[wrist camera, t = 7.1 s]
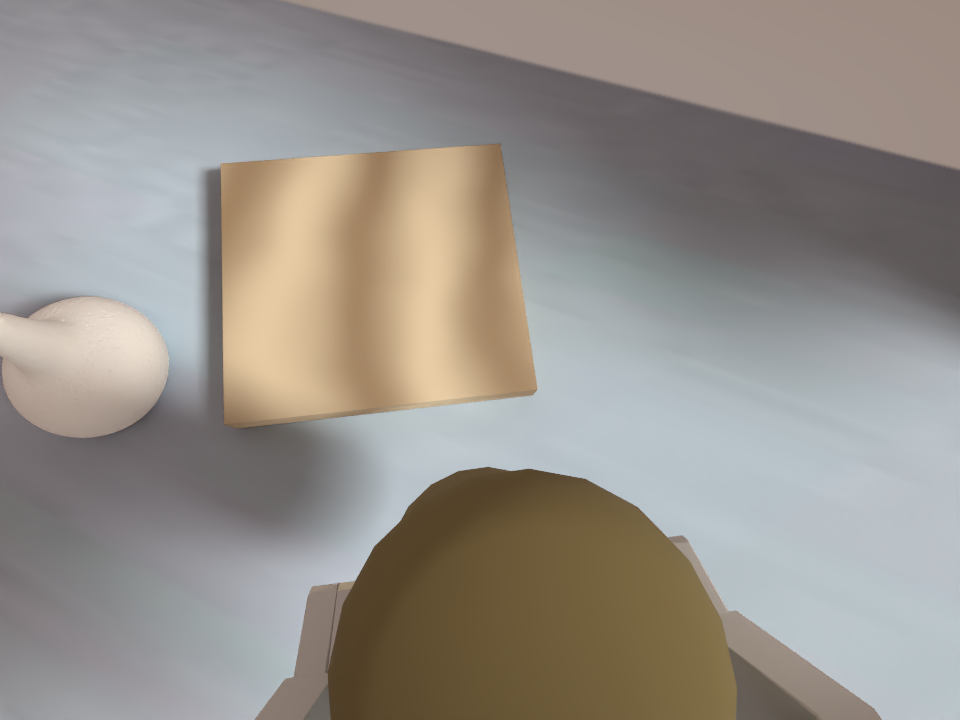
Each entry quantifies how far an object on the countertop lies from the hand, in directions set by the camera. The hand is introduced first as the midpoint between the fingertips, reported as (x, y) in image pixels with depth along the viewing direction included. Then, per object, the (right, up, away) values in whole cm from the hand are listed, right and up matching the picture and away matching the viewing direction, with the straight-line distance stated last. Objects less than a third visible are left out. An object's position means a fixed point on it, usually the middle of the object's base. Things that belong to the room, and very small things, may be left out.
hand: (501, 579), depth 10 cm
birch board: (-6, +8, +17) cm, 19 cm away
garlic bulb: (-18, +4, +15) cm, 24 cm away
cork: (0, -2, +6) cm, 6 cm away
